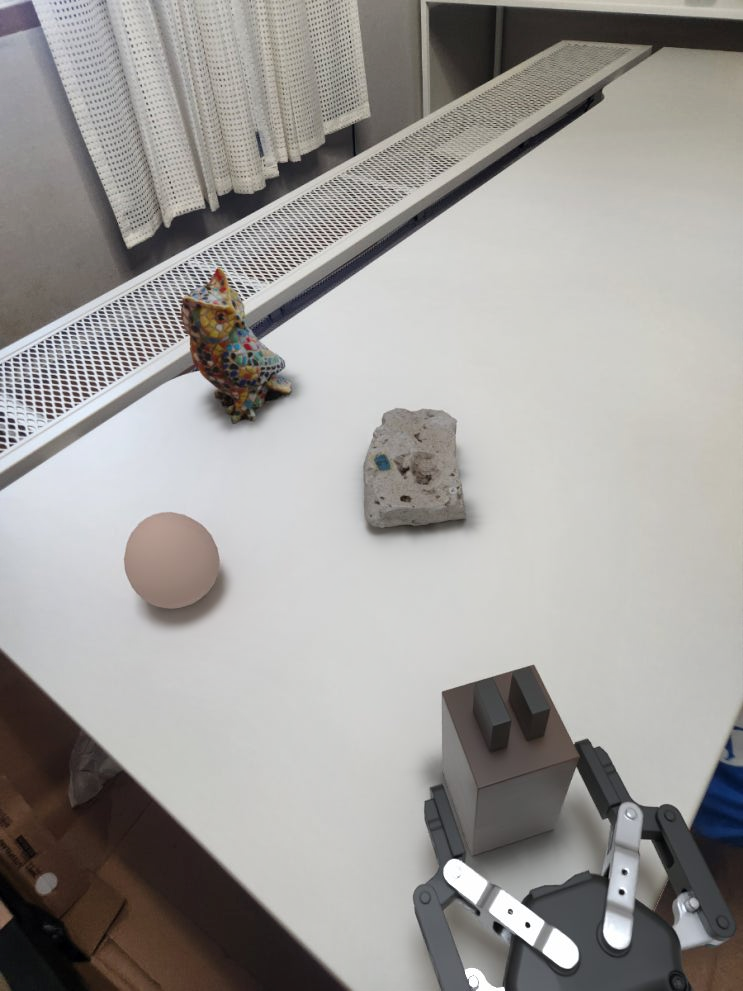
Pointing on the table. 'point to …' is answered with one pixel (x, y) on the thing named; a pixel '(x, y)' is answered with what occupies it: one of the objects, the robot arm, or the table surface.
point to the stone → (413, 470)
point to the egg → (171, 560)
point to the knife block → (505, 758)
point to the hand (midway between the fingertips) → (507, 767)
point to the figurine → (230, 350)
